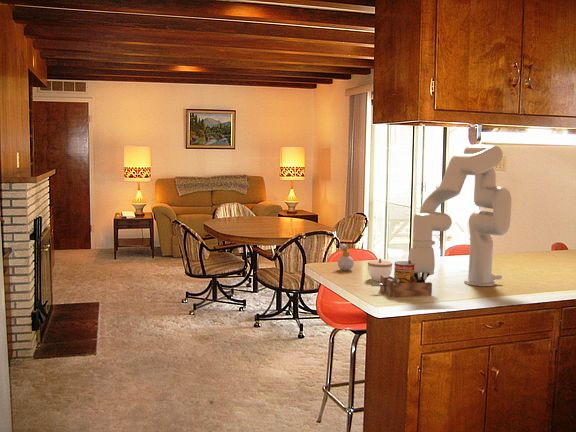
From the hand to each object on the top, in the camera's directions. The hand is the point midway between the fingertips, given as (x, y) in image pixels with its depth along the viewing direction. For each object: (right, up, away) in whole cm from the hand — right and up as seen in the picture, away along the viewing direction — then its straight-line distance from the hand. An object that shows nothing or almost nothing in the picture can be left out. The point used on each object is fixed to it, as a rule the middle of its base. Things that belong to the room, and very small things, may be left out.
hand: (420, 289), depth 248 cm
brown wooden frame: (-6, -1, -1) cm, 6 cm away
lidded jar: (-13, +1, +23) cm, 26 cm away
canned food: (-7, -1, -1) cm, 7 cm away
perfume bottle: (-27, +4, +44) cm, 52 cm away
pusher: (-16, -1, -3) cm, 16 cm away
